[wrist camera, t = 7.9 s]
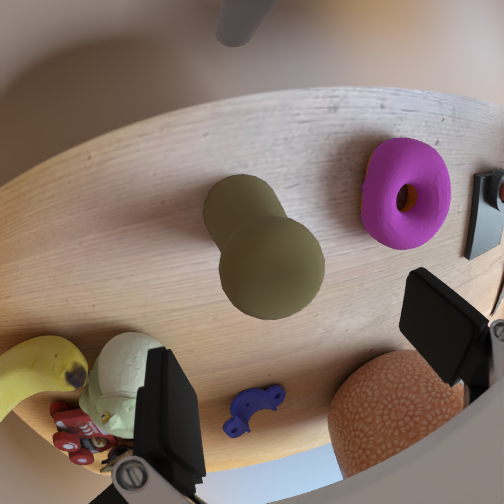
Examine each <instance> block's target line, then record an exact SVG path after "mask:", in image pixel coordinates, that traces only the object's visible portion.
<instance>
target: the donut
mask: <svg viewBox="0 0 504 504" xmlns="http://www.w3.org/2000/svg"><path fill="white" fill-rule="evenodd" d="M404 184H407V188H408V197H407V201H406V204H405V206H404V207H403V208H402V209H401V210H400V211H398V210H397V207H396V197H397V194H398V192H399V190H400V188H401V187H402V186H403V185H404ZM361 189H362V191H363V194H362V199H361V220H362V222H363V225H364V228H365V230H366V231H367V232H368V233H369V234H370V235H371V236H372V237H373V238H374V239H375V240H377V241H378V242H380V243H381V244H383V245H385V246H387V247H390V248H393V249H397V250H407V249H412V248H416V247H419V246H421V245H423V244H424V243H426V242H427V241H428V240H430V239H431V238H432V237H433V236H434V235H435V233H436V232H437V231H438V230H439V228H440V227H441V226H442V224H443V222H444V221H445V218H446V216H447V213H448V210H449V206H450V200H451V185H450V178H449V174H448V170H447V167H446V165H445V163H444V161H443V159H442V157H441V156H440V155H439V153H438V152H437V151H436V150H435V149H434V148H432V147H431V146H429V145H428V144H426V143H423V142H421V141H418V140H415V139H410V138H393V139H390V140H387V141H385V142H383V143H381V144H380V145H379V146H378V147H377V148H376V149H375V151H374V152H373V153H372V155H371V156H370V158H369V161H368V164H367V169H366V176H365V181H364V184H363V185H362V186H361Z"/></svg>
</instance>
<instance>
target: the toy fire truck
mask: <svg viewBox="0 0 504 504" xmlns="http://www.w3.org/2000/svg"><path fill="white" fill-rule="evenodd" d="M50 414H51V416H52V418H53V419H54V422H55V424H56V425H57V430H58V432H57V433H55V434H54V435H53V444H54V446H55V447H56V448H58V449H59V450H62V451H67V452H68V454H69V458H70V460H71V462H73V463H75V464H78V465H89V464H92V463H93V462H94V457H93V453H98V452H103V451H105V450H107V449H109V448H111V447H113V446H115V445H116V444H118V440H121V439H123V438H122V437H118V436H115V435H112V434H109V433H107V432H105V431H104V430H102V429H101V428H99V427H98V426H97V425H96V424H95V423H94V422H93V420H92V419H91V417H90V416H89V414H87V413H85V412H84V411H83V410H82V409H81V408H79V409H73V407H72V406H71V405H69V404H67V403H64V402H55V403H53V404H51V406H50ZM117 439H118V440H117Z"/></svg>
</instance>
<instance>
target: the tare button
mask: <svg viewBox="0 0 504 504" xmlns="http://www.w3.org/2000/svg"><path fill="white" fill-rule="evenodd" d="M501 200H502V201H504V184H503V186H502V189H501Z"/></svg>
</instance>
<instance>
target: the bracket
mask: <svg viewBox="0 0 504 504" xmlns="http://www.w3.org/2000/svg"><path fill="white" fill-rule="evenodd" d="M285 396H286V393H285V391H284V389H283V388H282V387H281V386H279V385H273V386H271V387H269V388H268V389H267V390H266V391H263V390H262V389H258V388H251V389H247V390H244V391H242V392H241V393H239V394H238V395H237V396H236V397H235V398H234V399H233V401H232V403H231V405H230V413H231V415H232V416H233V417H231V418H230V419H229V420H227V421H226V422H225V423H224V425H223V431H224V432H225V433H226V434H227V435H228V436H229V437H230V438H236V437H239V436H241V435H242V434H244V433H245V432H246V431H247V432H248V433H249V432H250V431H251V430H250V428H249V425H248V423H249V419H250V417H251V416H252V415H253V414H254V413H255V412H257V411H258V410H261V409H271V410H273V411H276V410H277V409H276V407H277V406H279V405H280V404H281V403H282V402H283V401H284V399H285Z"/></svg>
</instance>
